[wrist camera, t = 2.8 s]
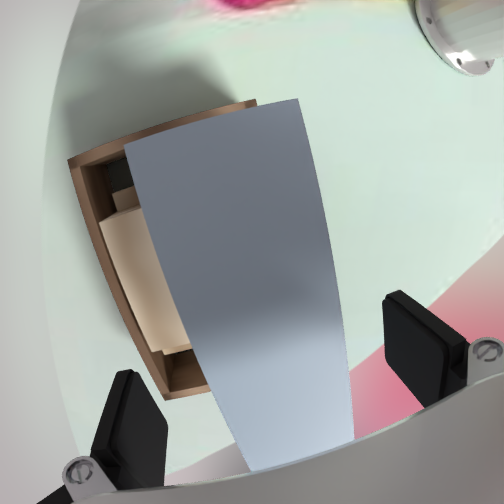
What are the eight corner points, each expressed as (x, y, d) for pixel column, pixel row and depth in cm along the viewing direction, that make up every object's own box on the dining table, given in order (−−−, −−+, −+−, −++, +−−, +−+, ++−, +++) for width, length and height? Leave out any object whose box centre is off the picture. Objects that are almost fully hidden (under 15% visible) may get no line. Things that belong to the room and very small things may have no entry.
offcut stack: (167, 174, 26) (150, 179, 19) (214, 319, 30) (216, 365, 23) (120, 190, 26) (89, 202, 18) (171, 330, 30) (162, 378, 23)
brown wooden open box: (245, 112, 25) (255, 98, 19) (298, 328, 31) (315, 362, 25) (95, 158, 24) (67, 159, 19) (170, 362, 31) (164, 400, 25)
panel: (234, 143, 26) (297, 98, 7) (278, 312, 30) (356, 489, 11) (188, 156, 25) (123, 144, 6) (238, 323, 30) (275, 514, 11)
